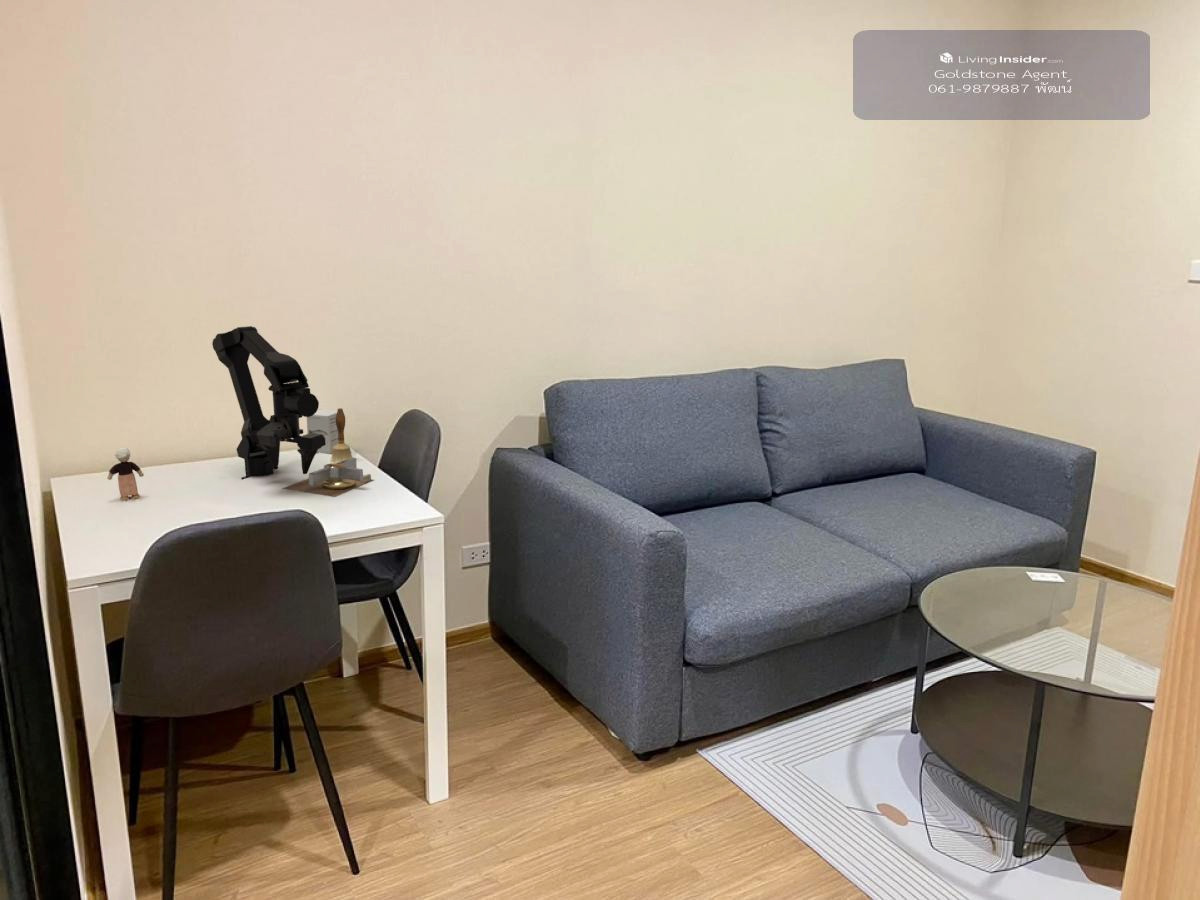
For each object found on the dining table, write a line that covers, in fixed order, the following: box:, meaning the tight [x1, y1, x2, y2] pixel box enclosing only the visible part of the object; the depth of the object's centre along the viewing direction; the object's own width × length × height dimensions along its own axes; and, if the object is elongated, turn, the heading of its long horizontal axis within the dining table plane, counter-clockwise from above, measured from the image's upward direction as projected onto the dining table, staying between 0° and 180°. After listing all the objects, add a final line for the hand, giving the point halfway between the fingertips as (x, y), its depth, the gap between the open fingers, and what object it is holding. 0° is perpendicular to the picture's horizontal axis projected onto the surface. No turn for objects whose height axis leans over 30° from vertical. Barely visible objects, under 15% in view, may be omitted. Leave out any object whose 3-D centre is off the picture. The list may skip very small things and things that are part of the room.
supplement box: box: [306, 408, 338, 456], centre depth 265 cm, size 7×7×13 cm
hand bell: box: [329, 407, 354, 463], centre depth 254 cm, size 8×8×16 cm
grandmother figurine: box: [107, 447, 144, 501], centre depth 222 cm, size 8×4×13 cm, turn 134°
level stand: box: [282, 473, 375, 498], centre depth 233 cm, size 16×16×3 cm
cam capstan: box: [308, 457, 364, 489], centre depth 231 cm, size 11×17×5 cm, turn 157°
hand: (290, 471), depth 231 cm, fingers open, 9 cm apart
